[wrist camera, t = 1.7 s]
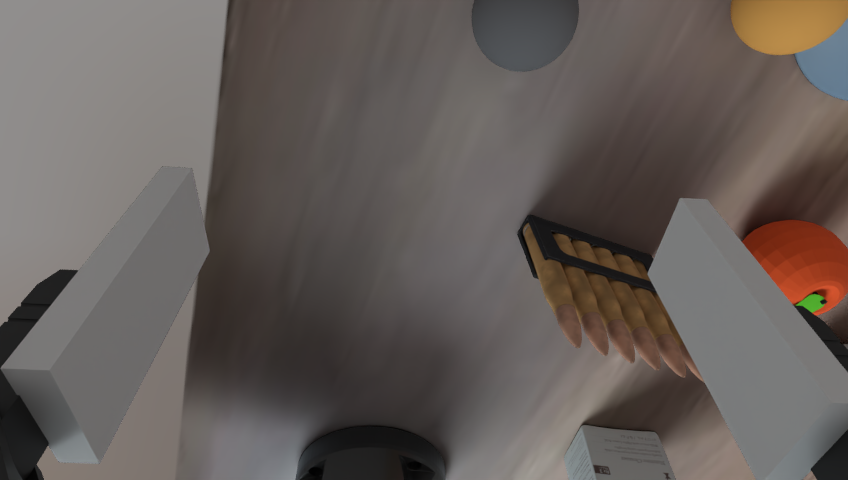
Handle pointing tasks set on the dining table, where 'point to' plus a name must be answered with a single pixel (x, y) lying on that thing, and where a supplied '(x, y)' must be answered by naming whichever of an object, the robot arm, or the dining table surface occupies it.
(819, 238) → the clementine
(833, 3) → the orange ball
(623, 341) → the ammunition clip
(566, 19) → the dark grey sphere
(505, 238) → the dining table surface
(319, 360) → the dining table surface
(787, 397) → the robot arm
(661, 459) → the skincare box
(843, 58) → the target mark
